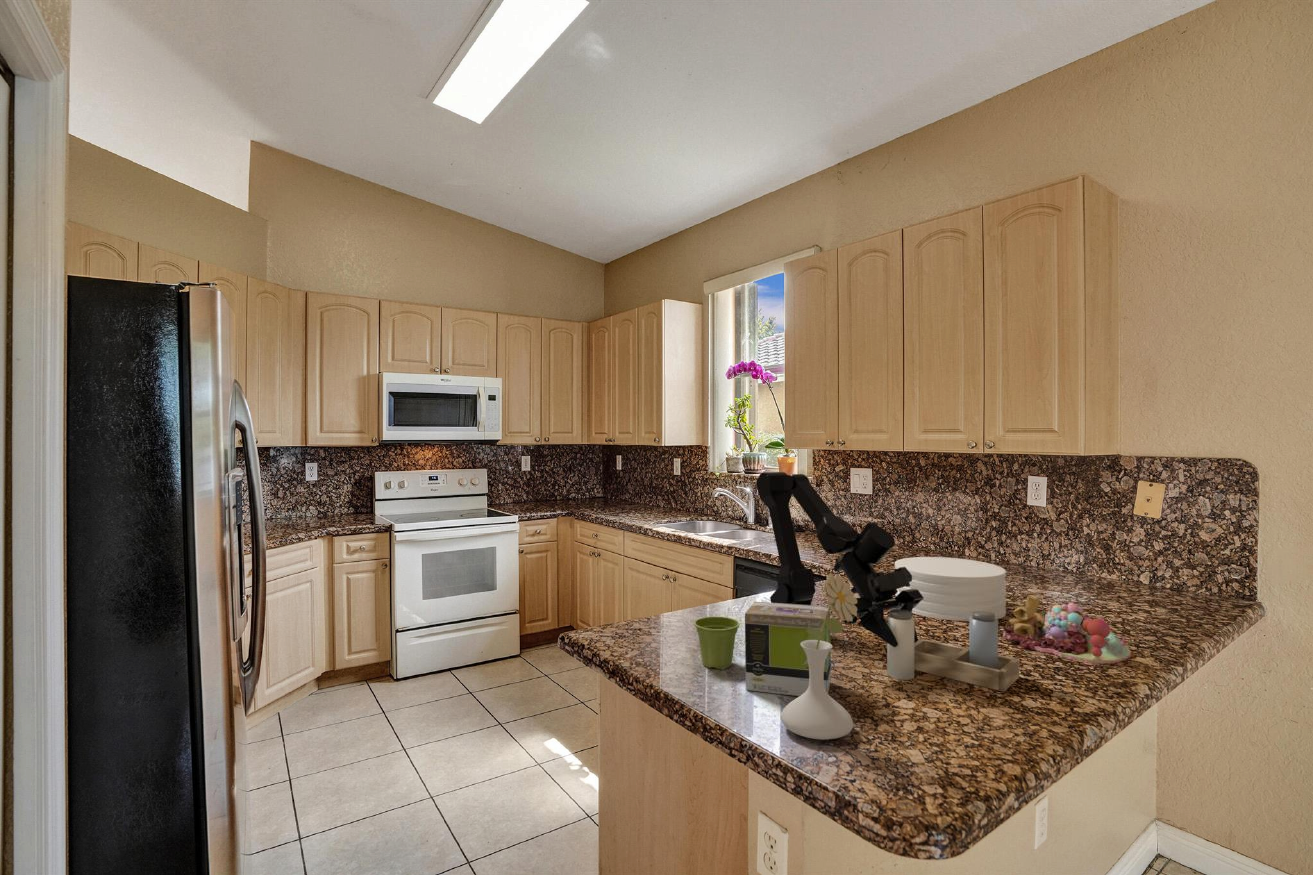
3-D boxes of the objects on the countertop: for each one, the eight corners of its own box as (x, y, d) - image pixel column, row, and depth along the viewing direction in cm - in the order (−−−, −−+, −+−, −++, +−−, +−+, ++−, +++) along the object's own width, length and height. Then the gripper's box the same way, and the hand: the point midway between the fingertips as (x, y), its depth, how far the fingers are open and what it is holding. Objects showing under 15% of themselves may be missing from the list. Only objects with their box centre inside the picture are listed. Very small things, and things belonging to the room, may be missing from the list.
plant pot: (709, 675, 127) (709, 631, 127) (685, 660, 136) (685, 619, 136) (748, 667, 132) (748, 625, 132) (723, 653, 140) (723, 614, 140)
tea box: (831, 681, 124) (831, 605, 124) (827, 702, 115) (827, 619, 115) (753, 672, 129) (753, 598, 129) (744, 691, 119) (743, 611, 119)
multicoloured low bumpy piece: (989, 644, 147) (989, 604, 147) (1016, 622, 164) (1016, 586, 164) (1124, 671, 130) (1124, 626, 130) (1138, 643, 147) (1138, 603, 147)
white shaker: (896, 680, 124) (896, 616, 124) (882, 671, 129) (882, 609, 129) (919, 678, 125) (919, 614, 125) (905, 669, 130) (904, 608, 130)
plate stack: (922, 590, 198) (922, 553, 198) (1021, 608, 178) (1021, 566, 178) (876, 606, 179) (876, 565, 179) (981, 628, 159) (981, 582, 159)
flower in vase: (809, 753, 96) (809, 585, 96) (766, 722, 106) (766, 571, 106) (877, 736, 101) (877, 578, 101) (830, 708, 112) (830, 564, 112)
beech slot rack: (902, 666, 132) (902, 649, 132) (921, 654, 139) (921, 638, 139) (1004, 691, 119) (1004, 672, 119) (1019, 677, 126) (1019, 659, 126)
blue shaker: (981, 683, 123) (980, 618, 123) (963, 673, 128) (963, 611, 128) (1004, 681, 124) (1003, 616, 124) (986, 672, 129) (985, 609, 129)
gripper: (851, 558, 126) (897, 629, 117) (915, 550, 135) (963, 615, 126) (822, 590, 133) (863, 659, 123) (886, 580, 142) (928, 644, 132)
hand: (906, 643), depth 126 cm, fingers open, 5 cm apart
